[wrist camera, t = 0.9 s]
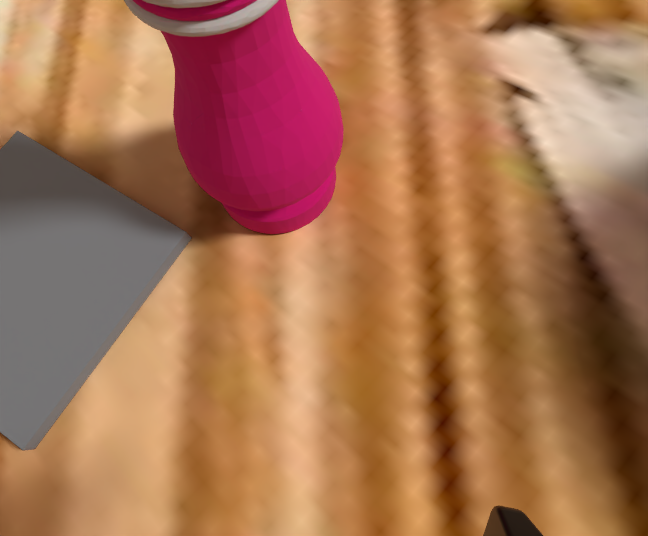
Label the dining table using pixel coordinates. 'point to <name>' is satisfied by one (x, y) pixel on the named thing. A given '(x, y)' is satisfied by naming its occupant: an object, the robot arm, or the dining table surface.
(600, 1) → the dining table surface
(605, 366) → the dining table surface
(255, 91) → the pepper mill
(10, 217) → the mat
